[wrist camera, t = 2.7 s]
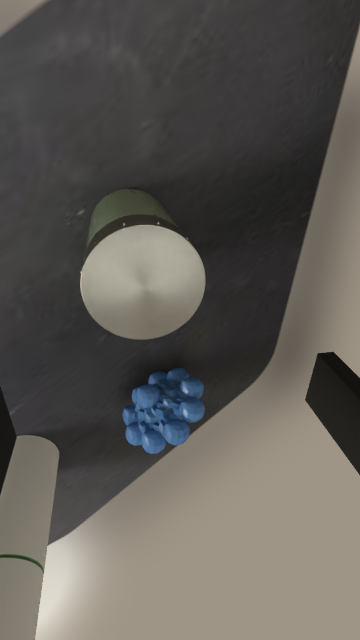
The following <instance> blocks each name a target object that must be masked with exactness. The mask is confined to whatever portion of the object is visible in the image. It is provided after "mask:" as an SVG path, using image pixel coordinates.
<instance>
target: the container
mask: <svg viewBox="0 0 360 640" xmlns="http://www.w3.org/2000/svg"><path fill="white" fill-rule="evenodd" d="M58 462H59V450H58V448H57V447H56V445H55V444H54V443H52V442H51V441H49V440H48V439H45V438H43V437H39V436H33V435H22V436H17V439H16V442H15V446H14V449H13V453H12V456H11V460H10V463H9V467H8V470H7V474H6V477H5V481H4V484H3V488H2V491H1V495H0V640H35V634H36V627H37V619H38V612H39V604H40V597H41V589H42V582H43V574H44V567H45V559H46V552H47V544H48V537H49V529H50V522H51V514H52V507H53V499H54V492H55V484H56V477H57V469H58Z"/></svg>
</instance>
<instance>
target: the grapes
mask: <svg viewBox="0 0 360 640" xmlns="http://www.w3.org/2000/svg"><path fill="white" fill-rule="evenodd" d="M203 391H204V385H203V383H202V382H201V380H200V379H198V378H195V377H189V373H188V372H187V371H186V370H185V369H182V368H174V369H172V370H170V371H169V372H168V374H166V373H164V372H161V371H160V372H155V373H152V374H151V375H150V377H149V380H148V384H147V385H143V386H138V387H136V388H134V389H133V391H132V401H133V402H134V403H135V405H129V406H127V407H126V408H125V409H124V411H123V421H124V422H125V423H126V425H128V426H127V428H126V433H125V434H126V439H127V440H128V442H129V443H130V444H132V445H135V446H136V445H141V444H142V447H143V448H144V450H145V451H146V452H148V453H150V454H156V453H159V452H161V451H162V450H163V449H164V447H165V446H166V442H168V443H170V444H173V445H180V444H182V443H184V442H185V441H186V440H187V439H188V437H189V433H190V430H189V425H188V424H187V423H186V422H189V423H193V422H198V421H199V420H201V419H202V417H203V416H204V412H205V407H204V404H203V403H202V401H201V400H200V399H199V398H200V397H201V396H202V394H203ZM185 421H186V422H185Z"/></svg>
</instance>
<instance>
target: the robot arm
mask: <svg viewBox="0 0 360 640" xmlns="http://www.w3.org/2000/svg"><path fill="white" fill-rule="evenodd" d="M305 400H306V402H307V403H308V405H309V406H310V407H311V408H312V410H313V411H314V413H315V414H316V415H317V417H318V418H319V420H320V421H321V422H322V424H323V425H324V427H325V428H326V429H327V431H328V432H329V433H330V435H331V436H332V437H333V439H334V440H335V441H336V443H337V444H338V446H339V447H340V448H341V450H342V451H343V453H344V454H345V455H346V457H347V458H348V460H349V461H350V462H351V463H352V465H353V466H354V468H355V469H356V470H357V472H358V473H359V475H360V378H359V377H358V376H357V375H356V374H355V373H354V372H353V371H352V370H351V369H350V368H349V367H348V366H347V365H346V364H345V363H344V362H343V361H342V360H341V359H340V358H339V357H338V356H337V355H336V354H335V353H334V352H327V353H318V354H317V359H316V362H315V366H314V369H313V373H312V377H311V380H310V384H309V388H308V392H307V395H306V399H305ZM16 439H17V436H16V433H15V430H14V427H13V424H12V421H11V418H10V415H9V412H8V409H7V406H6V403H5V400H4V396H3V393H2V390H1V387H0V495H1V491H2V488H3V484H4V481H5V477H6V474H7V470H8V467H9V463H10V460H11V456H12V453H13V449H14V446H15V442H16Z"/></svg>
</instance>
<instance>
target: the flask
mask: <svg viewBox="0 0 360 640" xmlns="http://www.w3.org/2000/svg"><path fill="white" fill-rule="evenodd" d="M133 214H148V215H153V216H154V215H156V216H157V217H160V218H163V219H165V220H167V221H169V222H171V223H172V224H174V225H175V226H176V227H178V226H177V224H176V223H175V222H174V220H173V219H172V218H171V216H170V215H169V214H168V212H167V211H166V210H165V208H164V207H163V206H162V204H161V203H160V202H159V201H158V200H157V199H156V198H155V197H153V196H152V195H150V194H148V193H146V192H144V191H141V190H136V189H122V190H117V191H115V192H112V193H110V194H108V195H107V196H105V197H104V198H103V199H102V200H101V201H100V202H99V203H98V204H97V205H96V207H95V208H94V210H93V212H92V215H91V218H90V222H89V229H88V236H87V243H86V249H87V247H88V245H89V243H90V241H91V240H92V238H93V237H94V236H95V233H97V232H98V231H99V230H100V229H101V228H102V227H104V226H105V225H107V224H108V223H110V222H111V221H113V220H115V219H118V218H120V217H122V216H127V215H133ZM178 228H179V227H178ZM85 252H86V250H85Z"/></svg>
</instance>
